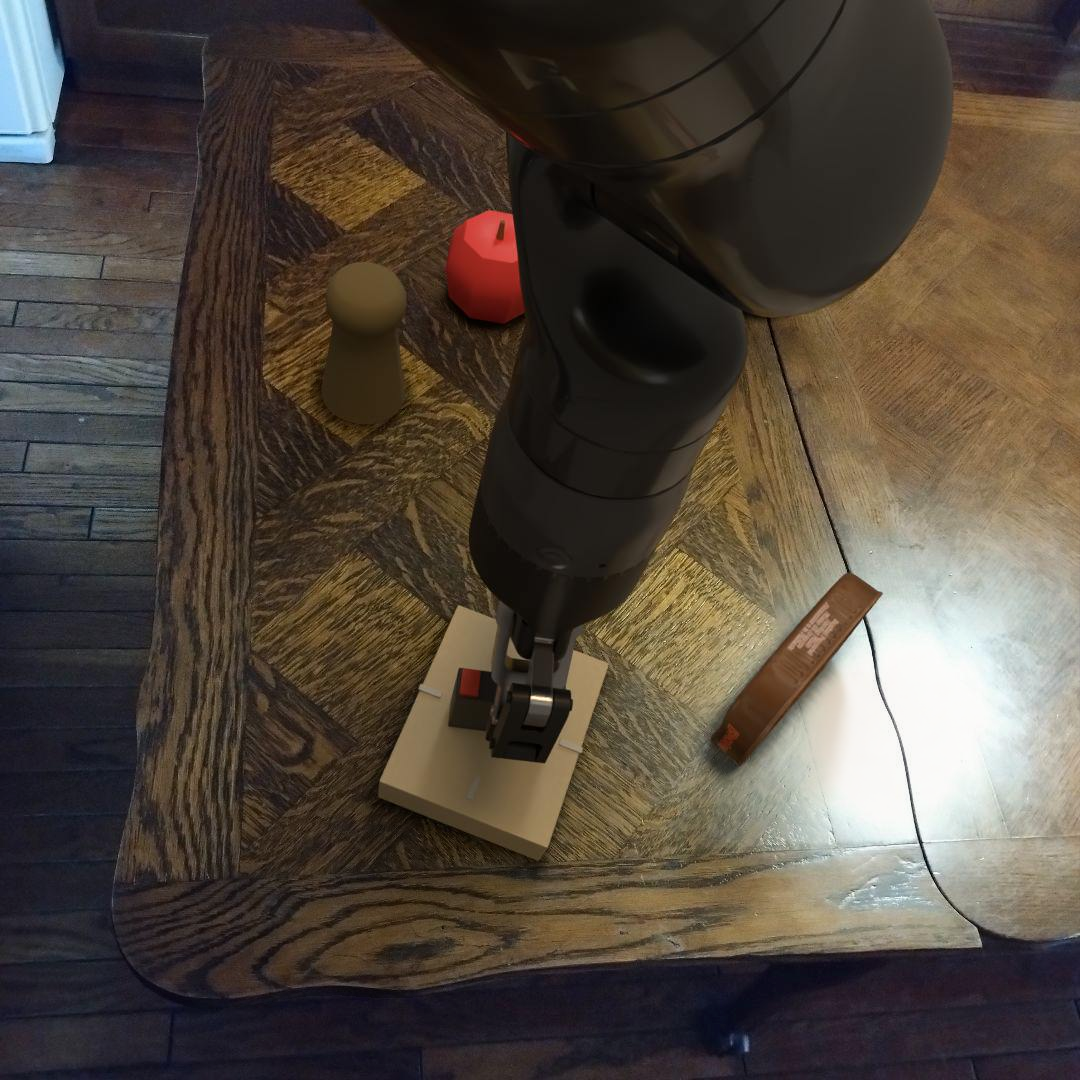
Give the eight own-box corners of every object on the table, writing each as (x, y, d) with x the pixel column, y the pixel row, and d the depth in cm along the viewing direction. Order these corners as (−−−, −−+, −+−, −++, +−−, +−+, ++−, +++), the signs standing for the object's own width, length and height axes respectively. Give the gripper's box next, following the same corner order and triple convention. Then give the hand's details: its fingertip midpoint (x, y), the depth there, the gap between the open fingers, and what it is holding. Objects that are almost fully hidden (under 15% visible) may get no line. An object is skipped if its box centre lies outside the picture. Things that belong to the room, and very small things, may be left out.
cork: (303, 393, 71) (297, 280, 62) (358, 347, 74) (361, 233, 65) (368, 438, 70) (372, 331, 61) (421, 389, 73) (433, 280, 64)
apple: (455, 344, 76) (466, 266, 69) (427, 270, 79) (435, 189, 73) (551, 330, 78) (571, 254, 72) (520, 259, 82) (536, 180, 75)
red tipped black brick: (552, 710, 58) (567, 679, 54) (549, 740, 57) (565, 709, 53) (451, 697, 58) (459, 664, 54) (447, 726, 57) (455, 695, 53)
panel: (540, 862, 57) (550, 848, 54) (375, 796, 57) (377, 779, 54) (600, 683, 63) (611, 662, 60) (452, 625, 63) (457, 602, 61)
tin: (724, 786, 61) (775, 739, 54) (686, 751, 62) (730, 700, 55) (850, 636, 68) (909, 577, 61) (814, 606, 69) (867, 545, 62)
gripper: (675, 670, 35) (577, 801, 48) (669, 365, 42) (586, 553, 56) (464, 642, 34) (425, 785, 47) (496, 335, 41) (454, 534, 55)
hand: (512, 659), depth 52 cm, fingers open, 8 cm apart
